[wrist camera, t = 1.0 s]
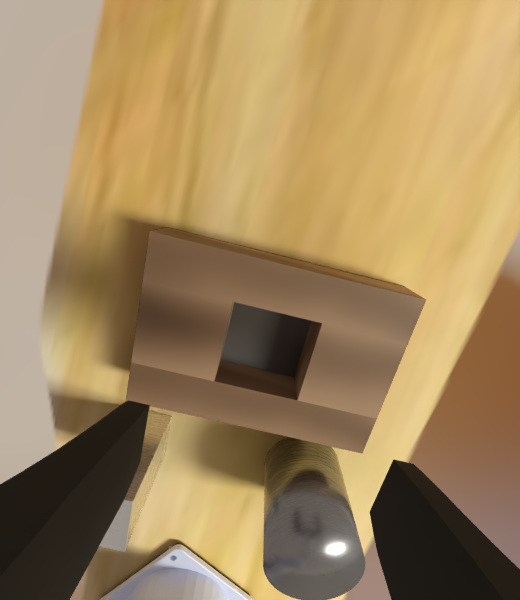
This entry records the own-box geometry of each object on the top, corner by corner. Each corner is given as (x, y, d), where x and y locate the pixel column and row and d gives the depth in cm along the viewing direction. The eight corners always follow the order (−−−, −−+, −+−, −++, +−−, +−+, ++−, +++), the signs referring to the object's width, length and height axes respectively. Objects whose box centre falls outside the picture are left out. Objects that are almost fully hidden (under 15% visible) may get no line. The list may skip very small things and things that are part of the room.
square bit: (164, 456, 21) (124, 552, 15) (115, 445, 21) (57, 538, 15) (171, 416, 20) (132, 501, 14) (121, 404, 20) (61, 486, 14)
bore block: (350, 423, 20) (362, 453, 17) (143, 376, 19) (125, 400, 17) (404, 286, 17) (426, 299, 15) (166, 227, 17) (149, 231, 14)
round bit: (325, 501, 22) (346, 608, 16) (257, 486, 21) (253, 590, 16) (348, 444, 20) (379, 540, 15) (275, 428, 20) (277, 518, 14)
